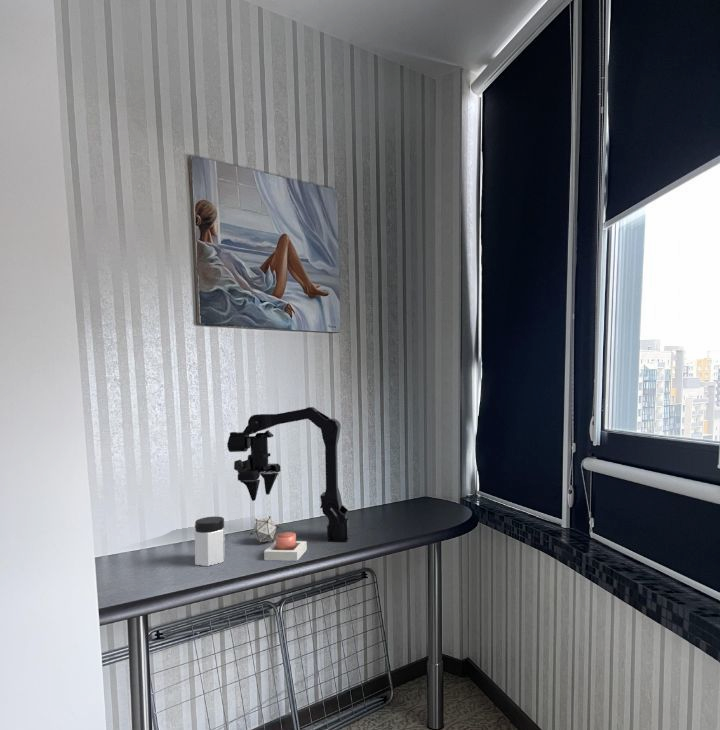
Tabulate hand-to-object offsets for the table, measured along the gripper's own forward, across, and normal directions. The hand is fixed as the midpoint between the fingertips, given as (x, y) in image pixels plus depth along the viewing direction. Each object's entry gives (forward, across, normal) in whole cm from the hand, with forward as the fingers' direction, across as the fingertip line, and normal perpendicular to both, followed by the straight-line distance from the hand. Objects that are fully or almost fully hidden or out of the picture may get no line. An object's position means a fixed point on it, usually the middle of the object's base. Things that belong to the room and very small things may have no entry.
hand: (260, 497), depth 157 cm
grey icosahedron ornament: (+14, +3, +3) cm, 15 cm away
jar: (+14, +22, -4) cm, 27 cm away
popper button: (+12, +12, +15) cm, 23 cm away
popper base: (+14, +12, +15) cm, 24 cm away
